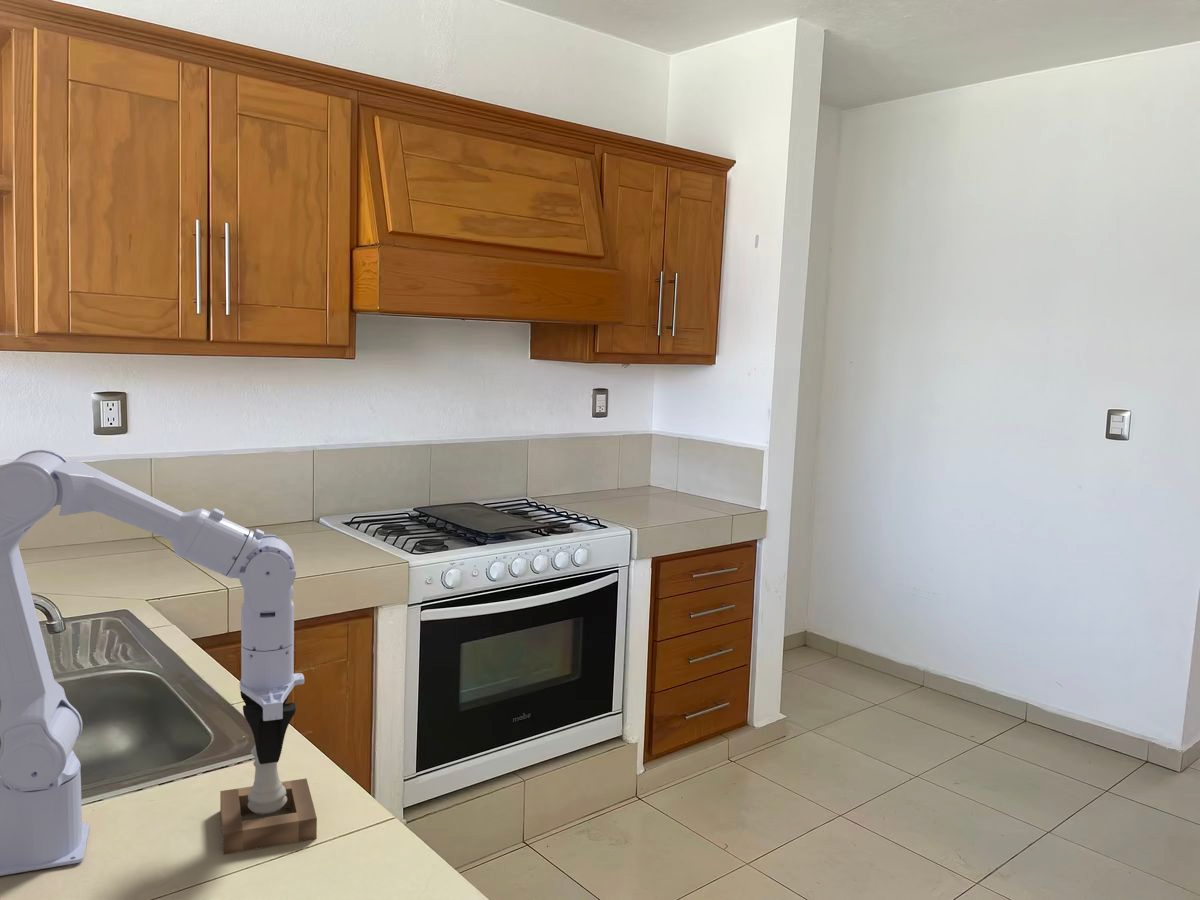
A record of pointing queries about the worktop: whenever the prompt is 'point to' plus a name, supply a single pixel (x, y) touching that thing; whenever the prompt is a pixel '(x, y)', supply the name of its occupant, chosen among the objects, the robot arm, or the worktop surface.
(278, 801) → the rook chess piece
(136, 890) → the worktop surface
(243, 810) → the walnut docking collar
